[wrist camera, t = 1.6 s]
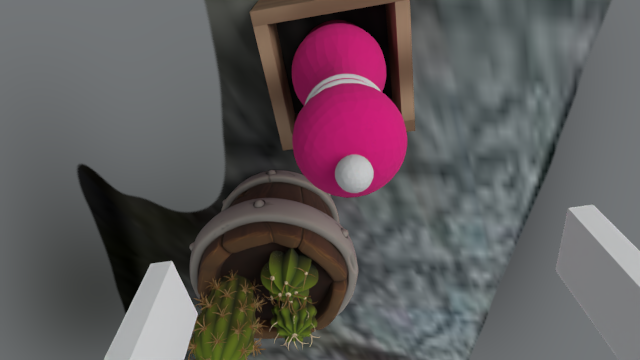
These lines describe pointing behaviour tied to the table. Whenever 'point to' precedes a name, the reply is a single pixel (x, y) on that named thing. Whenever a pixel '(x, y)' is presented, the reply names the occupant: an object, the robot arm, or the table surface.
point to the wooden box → (295, 3)
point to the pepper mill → (345, 112)
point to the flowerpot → (269, 267)
